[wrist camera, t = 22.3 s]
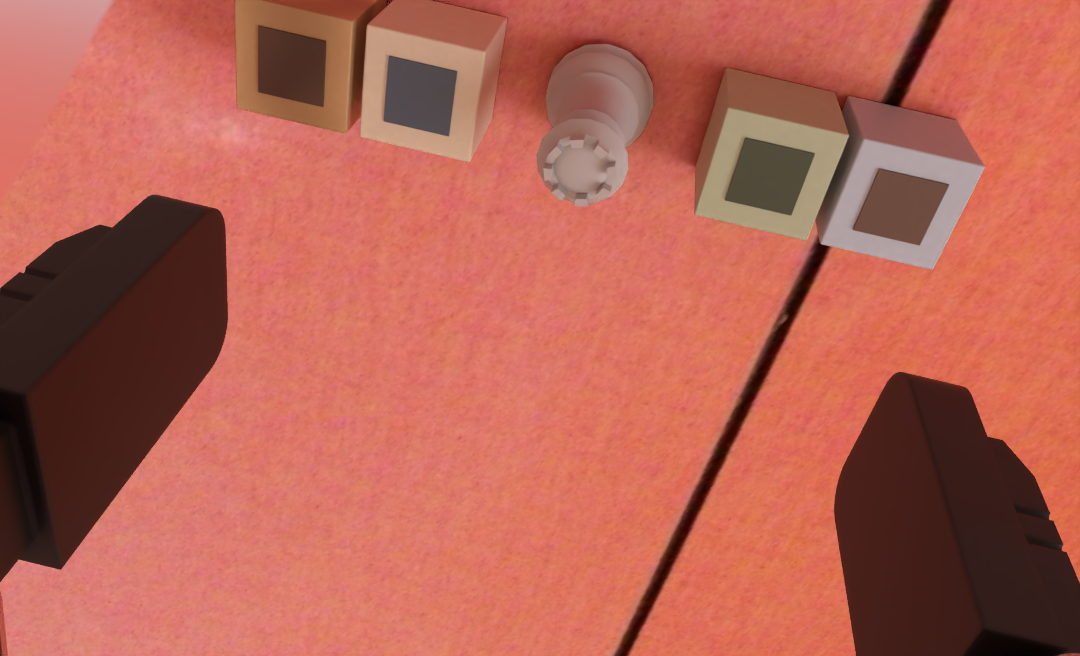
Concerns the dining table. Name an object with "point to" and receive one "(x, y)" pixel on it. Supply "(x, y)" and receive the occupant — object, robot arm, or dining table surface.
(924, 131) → the block
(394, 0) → the block
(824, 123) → the block
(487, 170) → the dining table surface
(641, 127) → the rook chess piece
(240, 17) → the block
